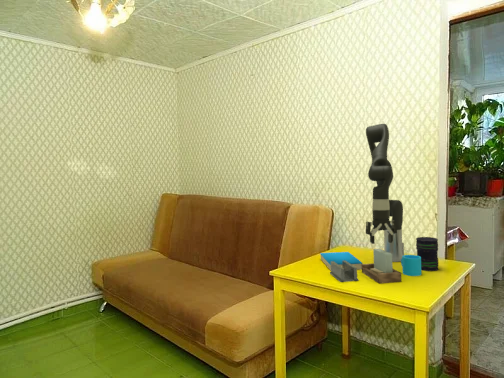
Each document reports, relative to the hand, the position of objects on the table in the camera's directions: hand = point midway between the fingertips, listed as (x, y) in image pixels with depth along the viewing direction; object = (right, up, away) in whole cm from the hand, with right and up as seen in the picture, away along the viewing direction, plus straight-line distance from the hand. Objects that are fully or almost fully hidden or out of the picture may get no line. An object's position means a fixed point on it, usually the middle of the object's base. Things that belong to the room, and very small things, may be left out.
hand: (381, 243), depth 166 cm
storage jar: (+27, -15, +11) cm, 32 cm away
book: (-13, -16, +26) cm, 33 cm away
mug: (+16, -15, +5) cm, 22 cm away
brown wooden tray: (0, -16, 0) cm, 16 cm away
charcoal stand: (-17, -17, +3) cm, 24 cm away
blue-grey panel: (+1, -16, +1) cm, 16 cm away
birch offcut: (-2, -15, 0) cm, 15 cm away
